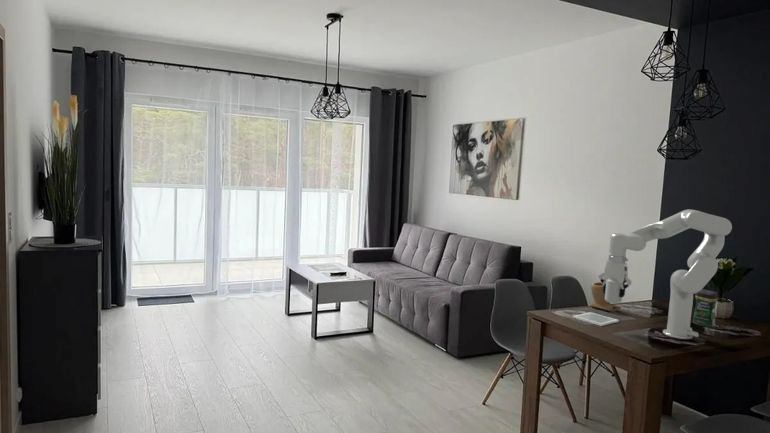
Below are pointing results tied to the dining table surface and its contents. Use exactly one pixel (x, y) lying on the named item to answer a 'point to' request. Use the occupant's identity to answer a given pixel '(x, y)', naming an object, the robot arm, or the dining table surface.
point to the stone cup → (601, 298)
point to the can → (612, 291)
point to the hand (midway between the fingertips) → (613, 294)
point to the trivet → (596, 319)
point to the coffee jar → (705, 308)
